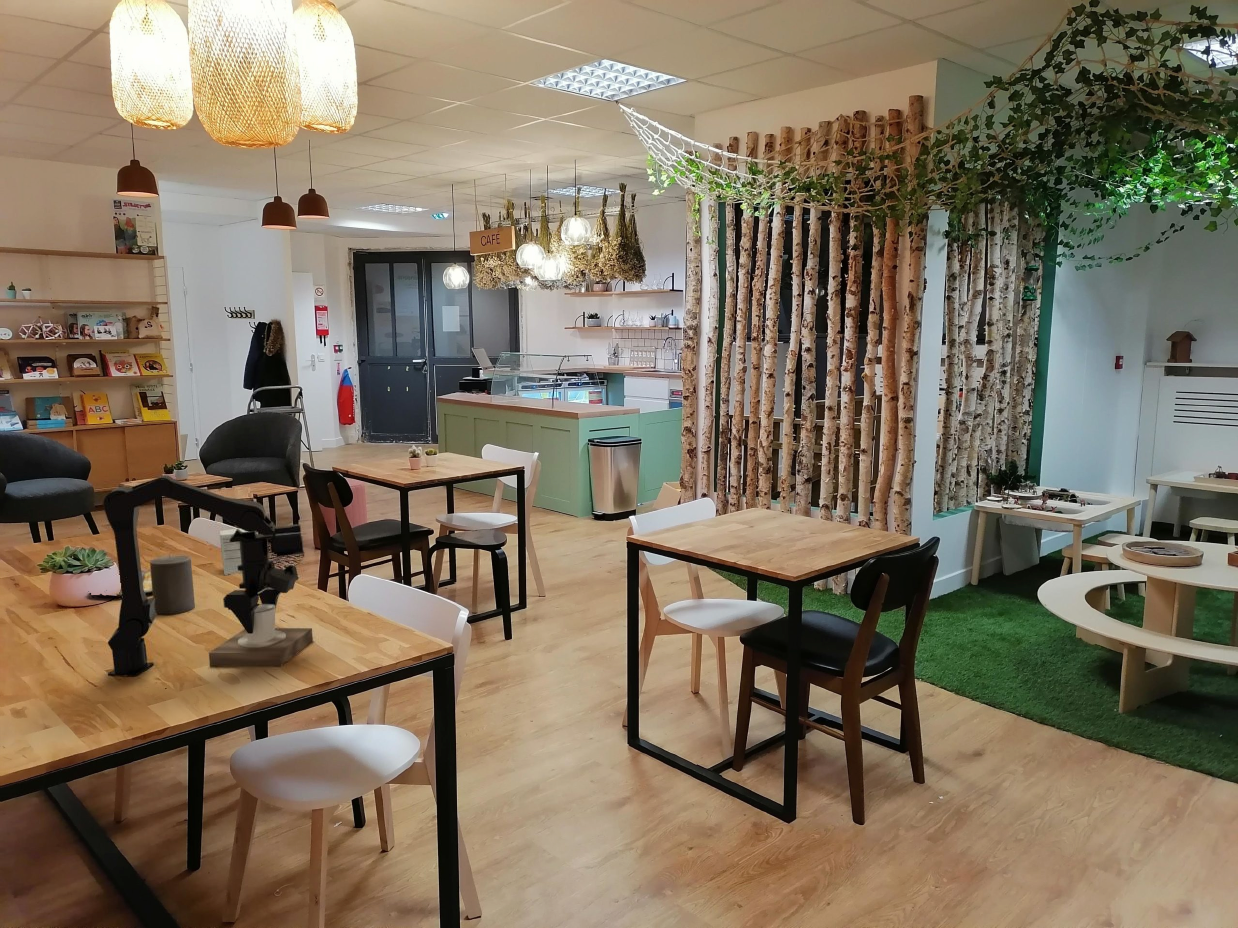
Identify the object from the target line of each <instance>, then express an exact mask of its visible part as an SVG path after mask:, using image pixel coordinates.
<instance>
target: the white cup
mask: <svg viewBox="0 0 1238 928" xmlns="http://www.w3.org/2000/svg"><path fill="white" fill-rule="evenodd" d="M258 604H259V606H258V607H257V608H256V609H255V611H254V630H253V633H252V634H248V633H247V636H248V641H250V642H264V641H268V640H271V639H273V638H274V637H275V628H276V609H275V605H273V604H262V603H258Z"/></svg>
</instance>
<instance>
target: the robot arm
mask: <svg viewBox="0 0 1238 928" xmlns="http://www.w3.org/2000/svg"><path fill="white" fill-rule="evenodd" d="M161 497H165V498H168V499H170V500H173V501H177V502H179V503H182V504H185V505H188V506H192V507H194V508H197V509H199V510H203V511H205V512H208V513H212V514H214V515H217V516H219V517H221V518H222V519H224V520H226V522H228V523H230V524H231V525H233V526H235V527H237V528H235V529H236V532H235V533H234V534H233V535H232V536H231V537H230V540H229V541H230V542H239V543H240V554H241V565H239V566H237V567H238V571H242V573H241V576H242V582H240V583H239V584H238V586H239V589H234V590H233V591H231V592H229V593H227V594H226V595H225V596H224V597H223V599H222V600H223V601H222V602H223V607H224V609H227V610H228V611H231V612H232V613H233V615H234V616H235V618H237V620H238V621H239V622H240V625H241V626H242V627H243V630H244V629H245V630H246V631H247V633H248V634H252V633H253V630H254V611H255V609H256V608H257V607H258V606H259V604H273V605H275V610H276V608H277V605H278V601H279V598H280V597H279V596H280V595H281V594H287V593H288V592H289V591H290V590H293V589H294V587H295V584H296V581H298V580H299V576H298V575H299V574H298V569H297V566H295V565H292V564H289V565H288V566H286V567H285V568H282V567H281V568H277V567H276V565H275V562H274V560H272V559H271V560H270V555H269V544H268V543H269V542H268V539H270V550H271V553H273V555H276V557H278V558H279V557H289V556H296V555H297V556H298V555H304V542H303V541H304V540H303V536H302V529H301V524H299V523H298V524H297V523H294V524H291V525H283V526H276V524H275V523H274V522H273V521H272V520H271V519H270V518H269V517H268V516H267V515H266V509H265V507H264V505H263V504H261V503H260V502H258V501H254V500H250V499H249V500H247V499H243V498H232V497H227V496H223V495H220V494H217V493H214V492H211V491H210V490H209V491H208V490H206V489H203V488H201V487H198V486H195V485H192V484H189V483H187V482H183V481H180V480H178V479H175V478H173V477H171V476H169V475H166V474H165V475H160V476H157V478H154V479H151V480H148V481H145V482H142V483H140V484H137V485H133V486H127V485H122V486H118V487H116V488H114V489H113V490H112V491H110V492H109V493H108V494H107V495H105V497H104V498H103V502H102V506H103V507H102V508H103V510H104V513H105V516H106V519H107V521H108V524H109V526H110V527H111V530H112V531H113V535H114V540H115V548H116V549H115V550H116V557H117V564H118V565H117V566H118V574H119V575H120V583H121V591H122V596H121V602H120V609H119V614H118V615H119V616H118V627H117V628H116V630H115V631H114V632H113V634H112V635H111V637H110V638H109V640H108V641H107V644H108V647H109V648H110V649H111V655H112V662H113V663H112V665H113V670H111V671H109V672H107V676H108V677H109V676H111V677H112V676H113V677H114V676H117V677H118V676H119V677H121V676H122V677H126V676H127V677H128V676H129V677H131V676H132V677H134V676H135V677H136V676H138V675H140V674H141V673H143V672H145V671H147V670H148V669H150V668H151V667H152V666H154V664H155V663H154V661H153V662H148V654H147V647H146V645H147V644H146V643H145V638H144V637H145V636H146V634H147V633H148V632H149V631H150V628H151V626H152V625H153V623H154V621H155V619H156V617H157V615H158V614H157V613H156V611H155V608H154V603H155V598H154V597H153V596H152V597H150V598H148V596H147V594H145V592H144V589H143V580H142V572H141V571H142V566H141V564H142V563H141V555H140V548H139V538H138V530H137V527H138V521H139V520H138V519H139V514H140V506H142V505H146V504H147V503H149V502H152V501H154V500H156V499H158V498H161ZM239 529H242V530H245V531H246V532H241V531H240V530H239ZM259 600H260V603H259Z"/></svg>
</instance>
